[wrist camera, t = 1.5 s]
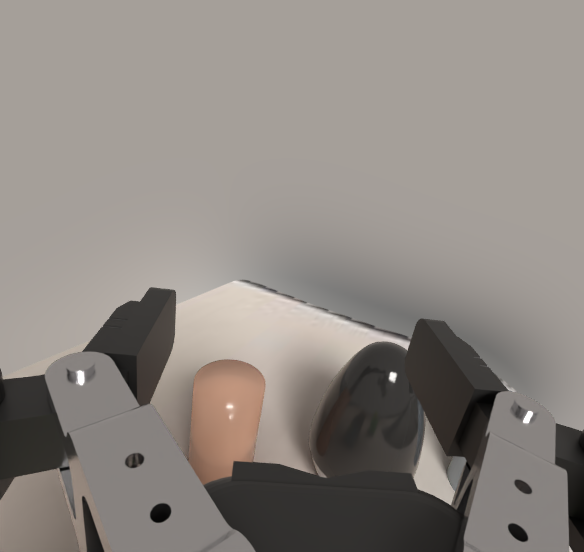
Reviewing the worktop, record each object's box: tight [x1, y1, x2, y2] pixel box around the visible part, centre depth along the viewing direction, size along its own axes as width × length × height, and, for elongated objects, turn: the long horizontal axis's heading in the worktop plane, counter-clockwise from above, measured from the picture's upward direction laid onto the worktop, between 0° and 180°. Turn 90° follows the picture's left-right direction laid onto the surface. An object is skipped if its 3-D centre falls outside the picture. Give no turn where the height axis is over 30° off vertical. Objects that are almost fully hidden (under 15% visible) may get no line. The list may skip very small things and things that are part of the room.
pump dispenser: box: [309, 342, 425, 478], centre depth 34 cm, size 10×10×15 cm
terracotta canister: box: [188, 360, 265, 485], centre depth 34 cm, size 6×6×10 cm
